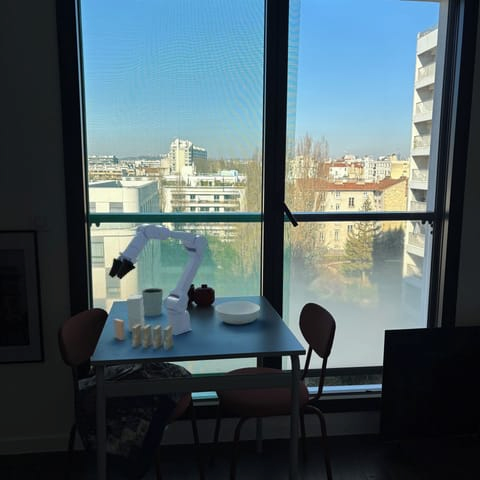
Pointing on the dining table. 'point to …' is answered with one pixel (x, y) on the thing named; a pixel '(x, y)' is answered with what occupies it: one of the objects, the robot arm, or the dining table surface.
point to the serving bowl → (237, 312)
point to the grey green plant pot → (152, 301)
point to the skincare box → (135, 311)
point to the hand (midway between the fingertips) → (114, 277)
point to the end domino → (119, 329)
